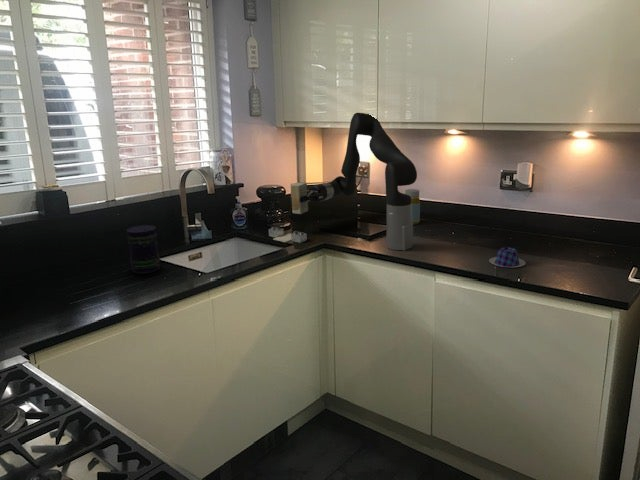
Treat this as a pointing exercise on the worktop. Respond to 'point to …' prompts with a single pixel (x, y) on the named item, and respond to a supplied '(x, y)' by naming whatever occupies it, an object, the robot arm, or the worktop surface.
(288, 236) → the seat pad
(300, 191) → the skincare box
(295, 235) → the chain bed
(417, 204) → the bottle
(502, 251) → the blue plaid hat
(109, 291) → the worktop surface
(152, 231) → the storage jar
